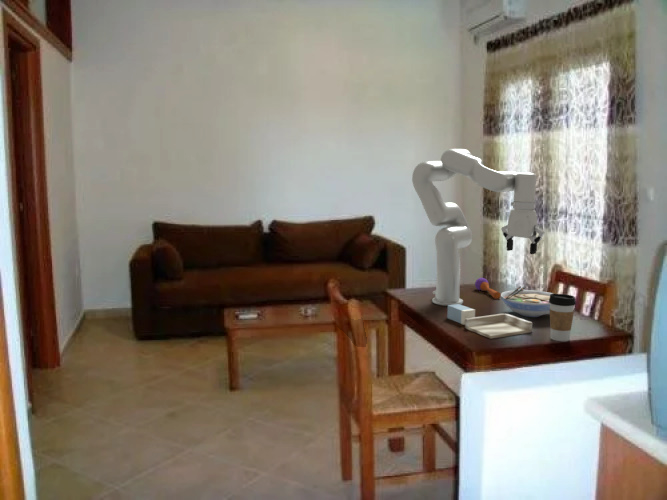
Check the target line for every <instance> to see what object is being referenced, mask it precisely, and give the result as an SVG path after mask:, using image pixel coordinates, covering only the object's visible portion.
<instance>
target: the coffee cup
mask: <svg viewBox="0 0 667 500" xmlns="http://www.w3.org/2000/svg"><path fill="white" fill-rule="evenodd" d="M549 303H550V313H549V325H550V339H551V340H553V341H557V342H569V341H570V340H571V339H570V338H571V331H572V325H573V319H574V313H575V310H574V308H575V305H576V303H577V302H576V297H575V296H574V295H571V294H563V293H553V294H550V299H549Z"/></svg>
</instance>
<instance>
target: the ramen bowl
mask: <svg viewBox="0 0 667 500" xmlns="http://www.w3.org/2000/svg"><path fill="white" fill-rule="evenodd" d="M500 294H501V296H500V298H501V300H502V302H504V305H506V308H508V309H509V310H511V311H512V312H515V313H516V314H519V315H520V316H522V317H525V318H539V317H541V316H544V315H548V314H550V303H549V299H550V294H554V293H553V292H547V291H543V290H542V291H541V290H532V289H531V290H530V289H526V286H523V287H522V285H519V286H517V288H516V289H513V290H506V291H503V292H501V293H500Z"/></svg>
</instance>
